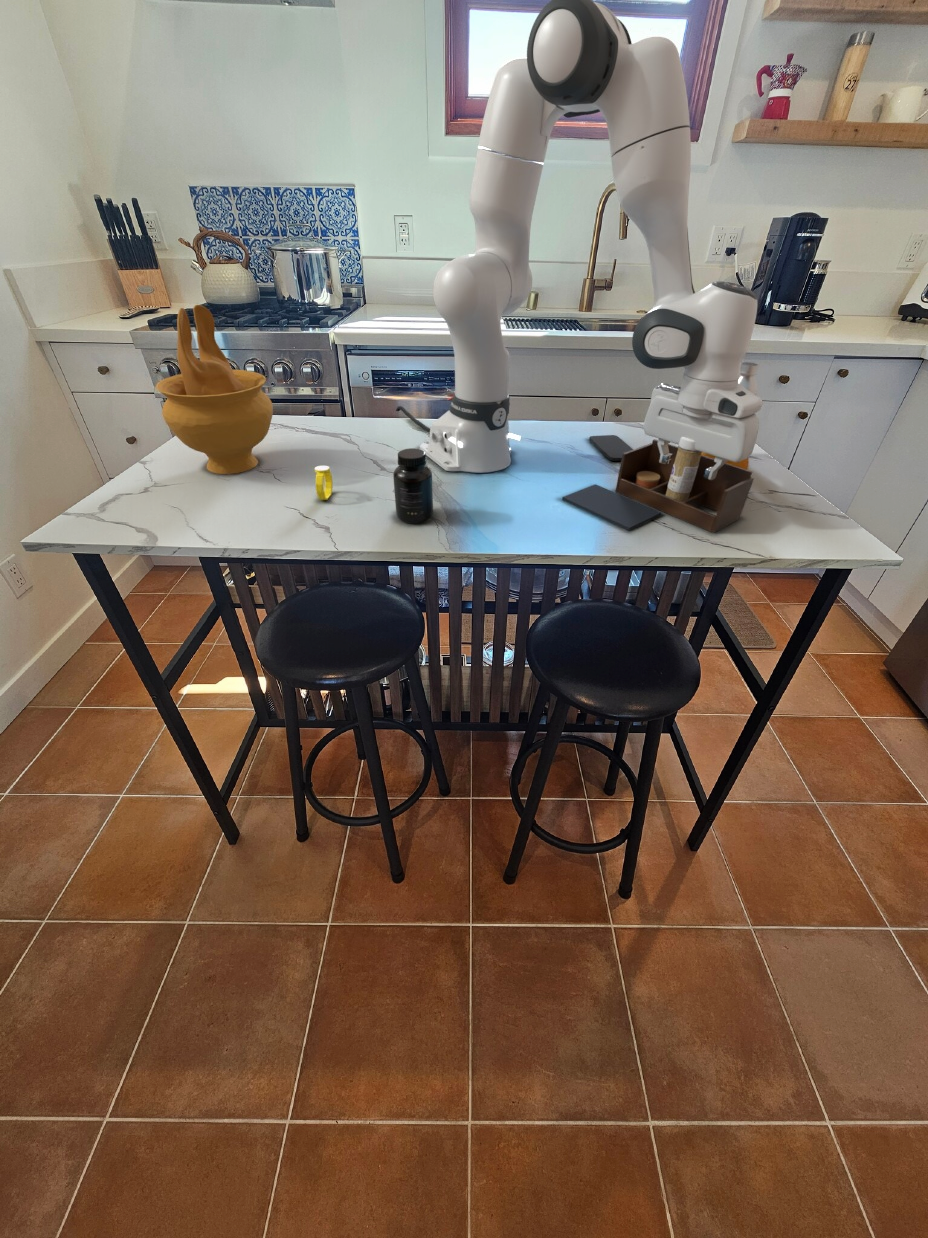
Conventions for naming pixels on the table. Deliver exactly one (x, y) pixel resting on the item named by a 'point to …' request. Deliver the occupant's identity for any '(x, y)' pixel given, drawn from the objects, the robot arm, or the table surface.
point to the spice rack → (716, 494)
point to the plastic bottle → (748, 376)
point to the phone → (610, 446)
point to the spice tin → (647, 479)
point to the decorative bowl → (214, 400)
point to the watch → (321, 474)
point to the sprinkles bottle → (683, 470)
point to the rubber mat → (612, 507)
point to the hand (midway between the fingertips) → (686, 470)
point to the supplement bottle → (413, 487)
